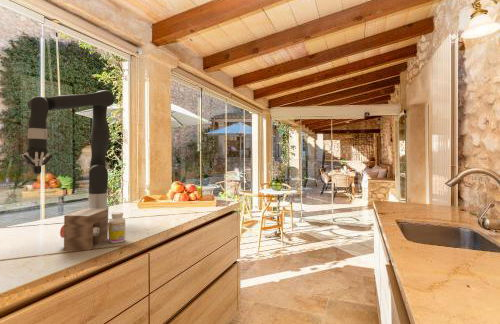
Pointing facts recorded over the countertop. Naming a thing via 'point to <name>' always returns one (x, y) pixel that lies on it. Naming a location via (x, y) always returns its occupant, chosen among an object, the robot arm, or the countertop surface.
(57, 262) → the countertop surface
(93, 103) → the robot arm
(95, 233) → the red plug
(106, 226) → the walnut block
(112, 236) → the supplement bottle
